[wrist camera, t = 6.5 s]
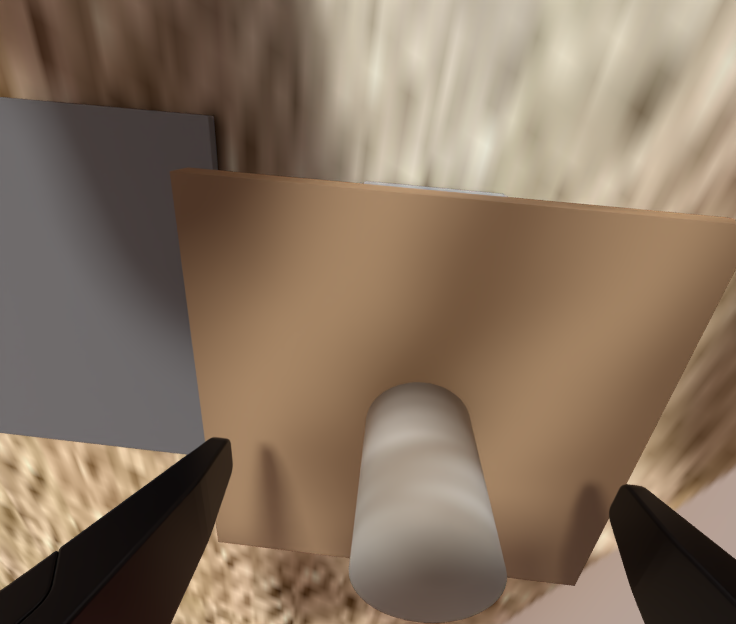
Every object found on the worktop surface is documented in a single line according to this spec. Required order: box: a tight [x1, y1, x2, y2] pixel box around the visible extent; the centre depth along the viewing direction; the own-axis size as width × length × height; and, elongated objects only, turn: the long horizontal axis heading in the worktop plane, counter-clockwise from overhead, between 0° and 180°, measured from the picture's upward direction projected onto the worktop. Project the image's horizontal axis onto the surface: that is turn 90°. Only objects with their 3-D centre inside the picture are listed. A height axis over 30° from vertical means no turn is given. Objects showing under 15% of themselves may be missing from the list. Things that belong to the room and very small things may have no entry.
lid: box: [170, 167, 736, 623], centre depth 9 cm, size 12×12×5 cm
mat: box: [0, 97, 218, 455], centre depth 15 cm, size 14×14×1 cm
